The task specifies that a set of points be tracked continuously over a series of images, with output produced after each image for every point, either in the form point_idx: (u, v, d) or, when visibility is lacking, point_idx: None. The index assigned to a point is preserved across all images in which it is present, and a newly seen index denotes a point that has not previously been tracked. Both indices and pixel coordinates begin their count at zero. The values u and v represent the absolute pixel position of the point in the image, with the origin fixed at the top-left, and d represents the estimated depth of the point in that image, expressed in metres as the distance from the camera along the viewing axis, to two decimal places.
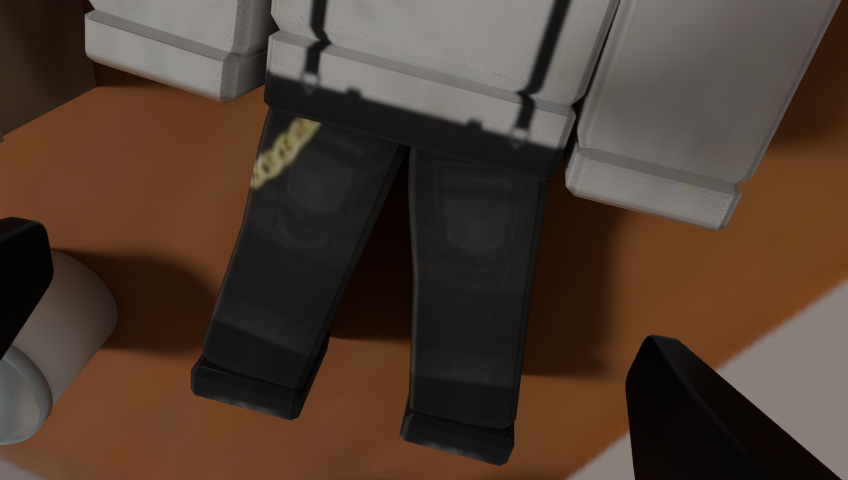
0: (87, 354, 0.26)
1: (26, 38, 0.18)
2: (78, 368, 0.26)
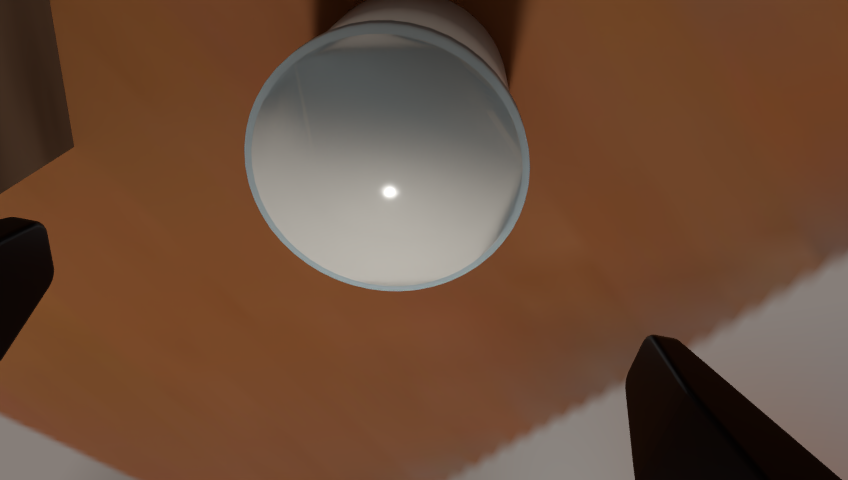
0: (446, 16, 0.14)
1: None
2: (453, 25, 0.14)
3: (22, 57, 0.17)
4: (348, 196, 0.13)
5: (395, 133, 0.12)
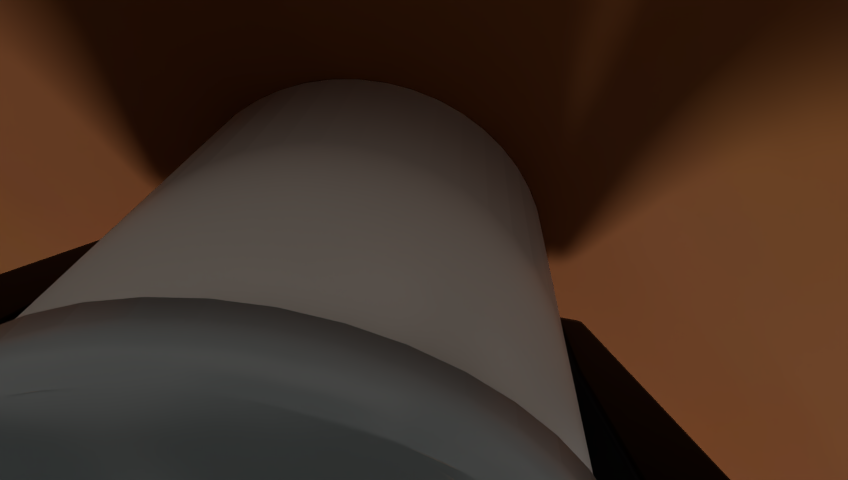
0: (419, 171, 0.06)
1: None
2: (432, 211, 0.05)
3: None
4: None
5: None
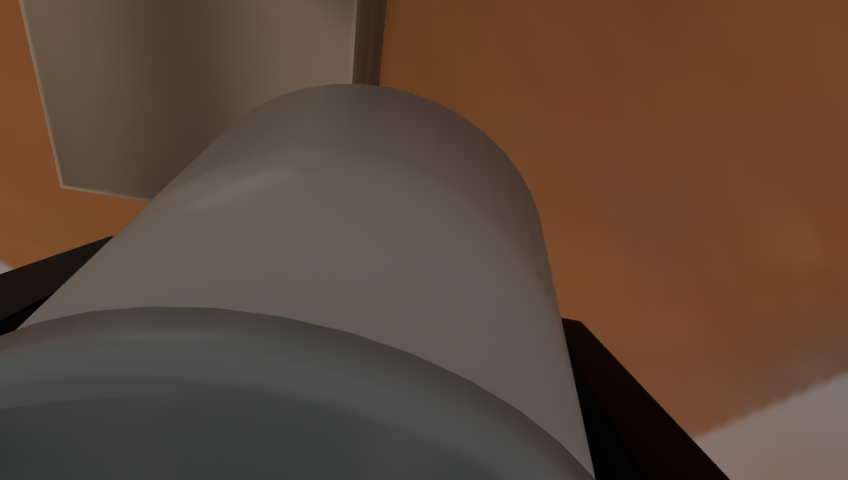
0: (422, 178, 0.06)
1: None
2: (436, 218, 0.06)
3: (373, 70, 0.18)
4: None
5: None
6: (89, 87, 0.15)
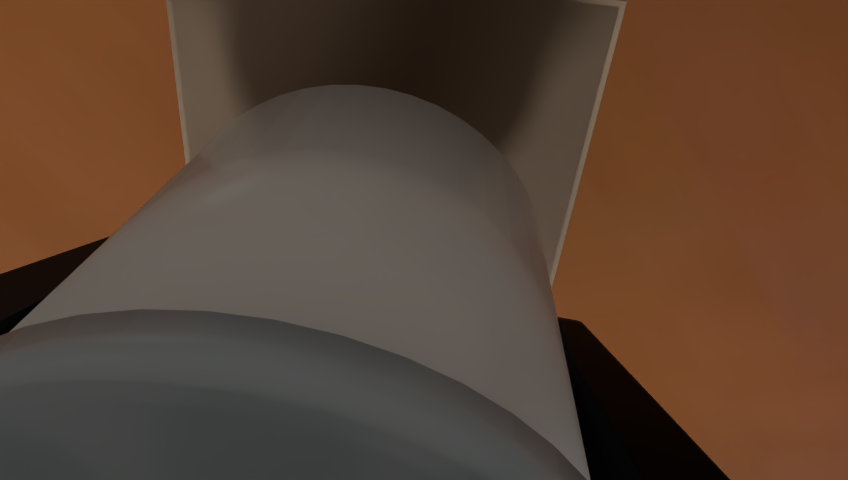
0: (417, 179, 0.06)
1: None
2: (430, 219, 0.05)
3: None
4: None
5: None
6: None
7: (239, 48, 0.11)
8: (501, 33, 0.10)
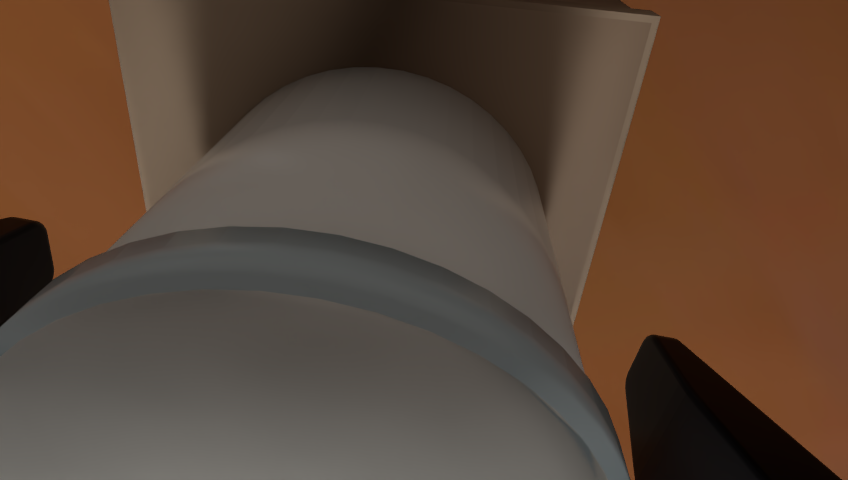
0: (439, 145, 0.07)
1: None
2: (452, 176, 0.06)
3: None
4: None
5: None
6: None
7: (201, 75, 0.09)
8: (510, 56, 0.09)
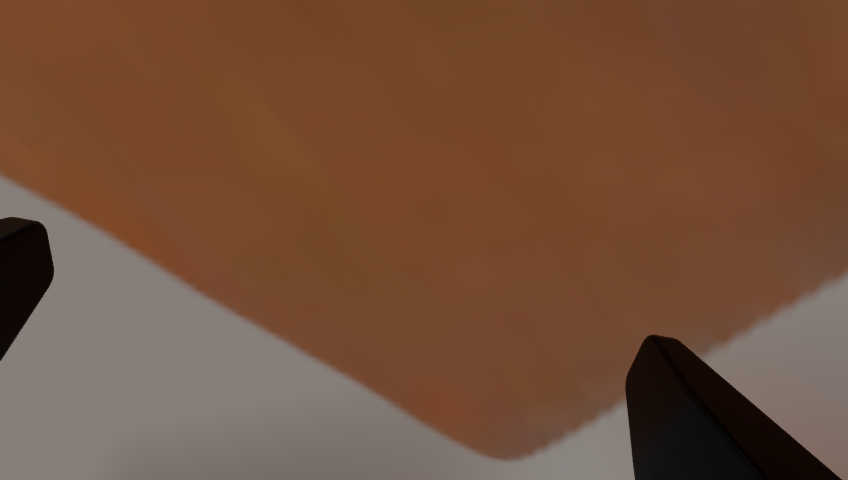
0: None
1: None
2: None
3: None
4: None
5: None
6: None
7: None
8: None
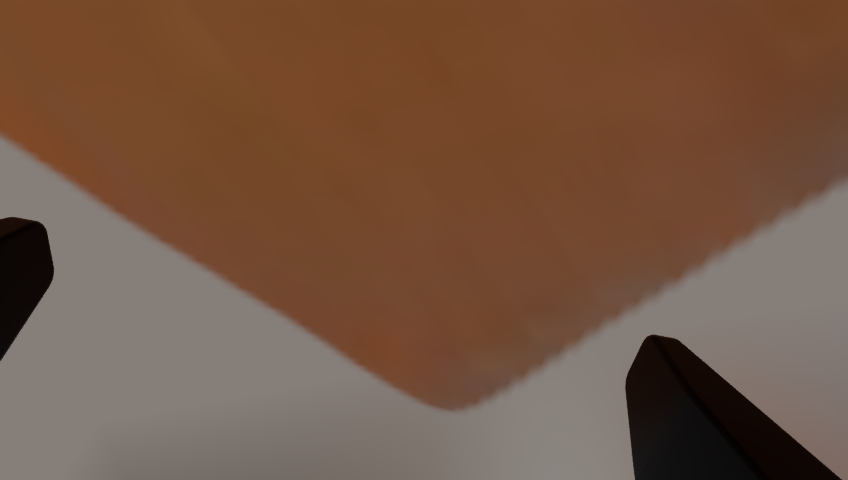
0: None
1: None
2: None
3: None
4: None
5: None
6: None
7: None
8: None
